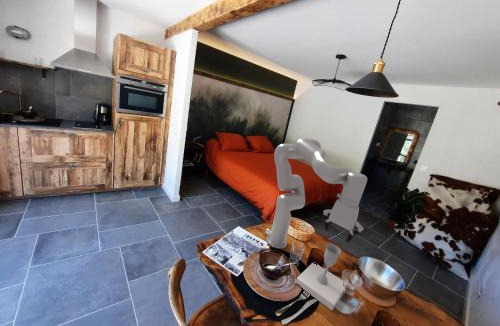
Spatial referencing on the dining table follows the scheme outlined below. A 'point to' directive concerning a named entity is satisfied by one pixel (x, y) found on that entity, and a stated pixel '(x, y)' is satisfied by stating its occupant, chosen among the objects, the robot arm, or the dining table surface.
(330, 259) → the chalice
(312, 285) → the plinth
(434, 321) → the dining table surface
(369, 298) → the dining table surface
